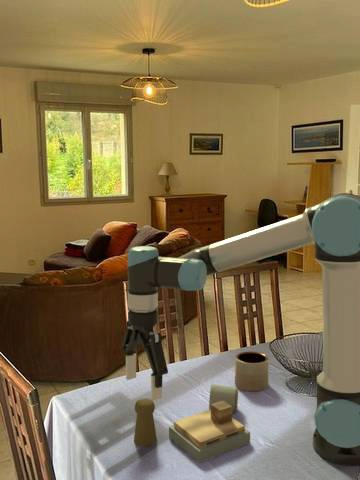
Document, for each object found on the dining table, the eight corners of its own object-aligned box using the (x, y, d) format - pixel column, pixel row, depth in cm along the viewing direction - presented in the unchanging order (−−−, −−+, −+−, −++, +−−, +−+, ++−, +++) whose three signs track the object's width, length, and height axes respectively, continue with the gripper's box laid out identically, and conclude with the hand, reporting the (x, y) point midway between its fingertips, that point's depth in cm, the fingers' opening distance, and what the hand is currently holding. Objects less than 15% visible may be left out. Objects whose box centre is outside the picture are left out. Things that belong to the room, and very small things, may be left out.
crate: (231, 420, 133) (232, 406, 132) (219, 424, 131) (219, 410, 130) (222, 414, 136) (222, 400, 135) (210, 418, 134) (210, 404, 133)
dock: (250, 442, 130) (250, 432, 130) (199, 462, 122) (199, 451, 121) (217, 420, 142) (217, 410, 141) (168, 436, 133) (168, 426, 133)
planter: (273, 382, 166) (274, 355, 164) (260, 395, 157) (260, 366, 155) (243, 375, 172) (243, 348, 170) (228, 387, 163) (229, 359, 161)
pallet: (244, 431, 130) (244, 426, 130) (200, 448, 123) (200, 442, 122) (216, 412, 140) (216, 407, 140) (174, 426, 133) (174, 421, 132)
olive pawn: (148, 449, 128) (147, 408, 126) (129, 442, 131) (128, 402, 129) (161, 438, 133) (160, 398, 131) (142, 432, 136) (142, 393, 134)
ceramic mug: (237, 418, 143) (237, 392, 142) (208, 416, 144) (208, 390, 143) (238, 401, 153) (238, 377, 152) (211, 399, 155) (211, 375, 154)
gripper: (182, 318, 118) (182, 403, 121) (133, 295, 139) (133, 368, 142) (155, 324, 114) (155, 411, 117) (108, 298, 135) (109, 374, 138)
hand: (143, 388), depth 130 cm, fingers open, 13 cm apart
